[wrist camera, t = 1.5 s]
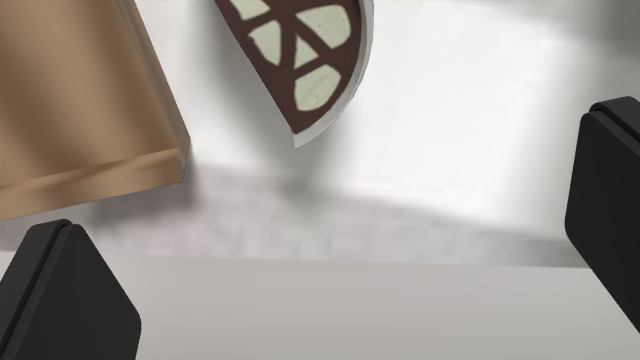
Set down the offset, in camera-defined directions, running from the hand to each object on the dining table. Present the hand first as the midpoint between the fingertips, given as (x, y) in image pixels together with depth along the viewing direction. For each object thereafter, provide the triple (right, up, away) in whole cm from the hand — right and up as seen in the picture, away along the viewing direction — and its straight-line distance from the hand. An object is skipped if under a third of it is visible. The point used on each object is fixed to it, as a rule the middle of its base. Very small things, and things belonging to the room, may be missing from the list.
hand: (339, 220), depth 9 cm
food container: (-2, +13, +18) cm, 23 cm away
